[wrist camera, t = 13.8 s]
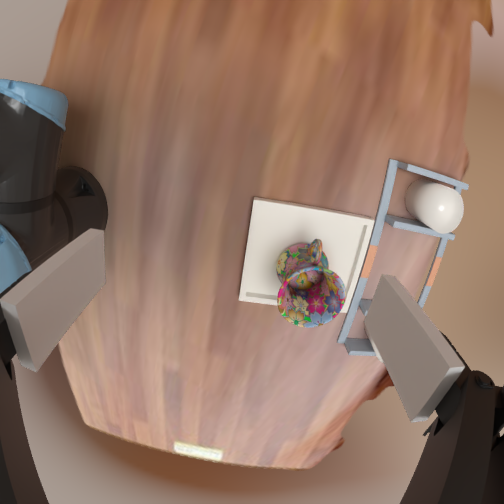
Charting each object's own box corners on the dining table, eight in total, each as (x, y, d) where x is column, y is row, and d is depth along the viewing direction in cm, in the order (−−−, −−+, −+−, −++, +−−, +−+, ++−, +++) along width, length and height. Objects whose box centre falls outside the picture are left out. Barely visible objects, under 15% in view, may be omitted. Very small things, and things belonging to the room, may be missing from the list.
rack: (336, 341, 56) (341, 354, 52) (389, 158, 42) (399, 161, 39) (404, 344, 56) (410, 356, 53) (461, 182, 43) (474, 186, 39)
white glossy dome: (400, 214, 46) (423, 229, 39) (410, 174, 43) (435, 182, 36) (432, 221, 46) (456, 237, 39) (441, 184, 44) (468, 194, 36)
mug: (323, 292, 51) (337, 329, 41) (270, 288, 51) (272, 325, 41) (337, 226, 46) (358, 251, 36) (279, 219, 46) (286, 243, 36)
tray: (239, 294, 52) (238, 300, 50) (254, 196, 45) (254, 199, 44) (344, 306, 53) (346, 312, 51) (370, 217, 46) (374, 220, 44)
